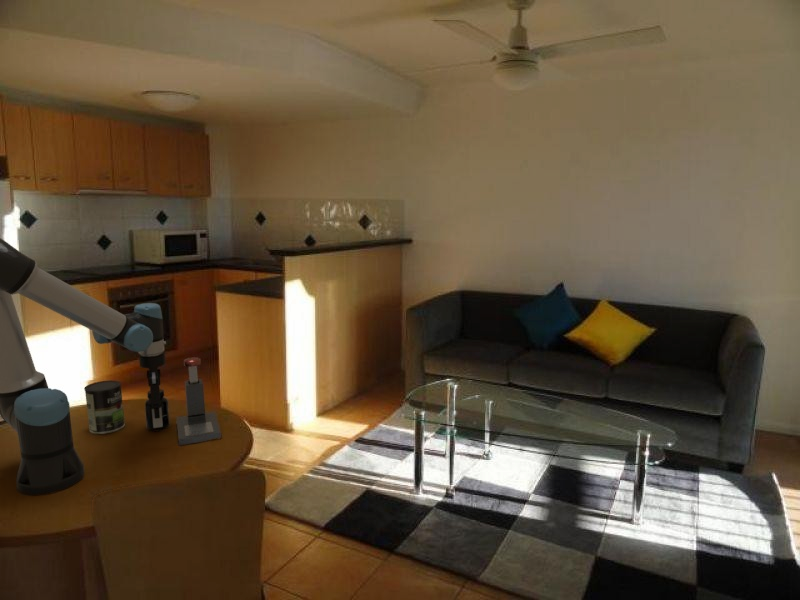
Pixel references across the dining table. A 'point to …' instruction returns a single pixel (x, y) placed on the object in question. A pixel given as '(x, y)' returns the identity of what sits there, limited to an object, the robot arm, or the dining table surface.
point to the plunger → (192, 368)
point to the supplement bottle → (163, 408)
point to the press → (196, 418)
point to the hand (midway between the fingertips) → (158, 422)
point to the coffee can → (104, 407)
